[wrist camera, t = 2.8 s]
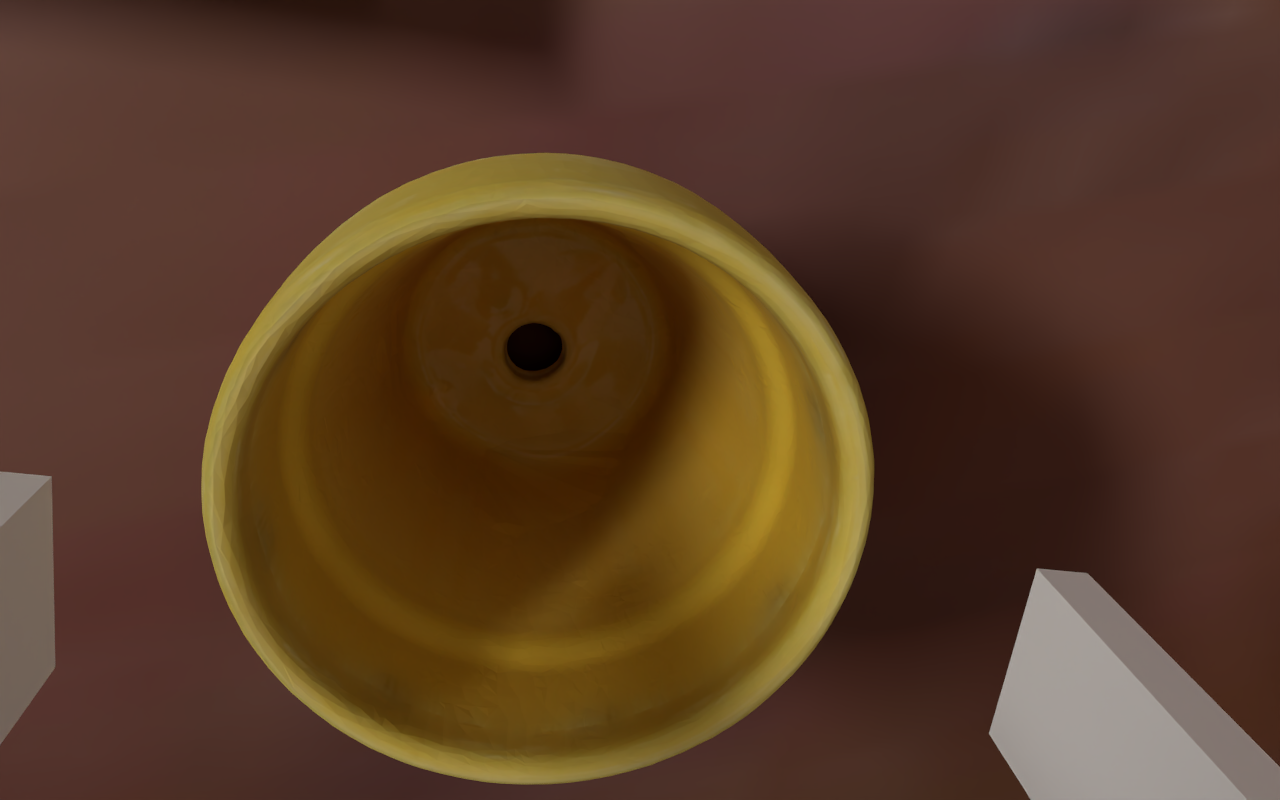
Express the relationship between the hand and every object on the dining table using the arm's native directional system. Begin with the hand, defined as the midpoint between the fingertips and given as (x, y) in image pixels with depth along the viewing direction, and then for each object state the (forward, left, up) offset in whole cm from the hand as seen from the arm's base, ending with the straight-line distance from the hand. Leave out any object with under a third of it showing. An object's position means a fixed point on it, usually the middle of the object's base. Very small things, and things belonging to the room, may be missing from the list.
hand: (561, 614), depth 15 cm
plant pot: (0, 0, -12) cm, 12 cm away
